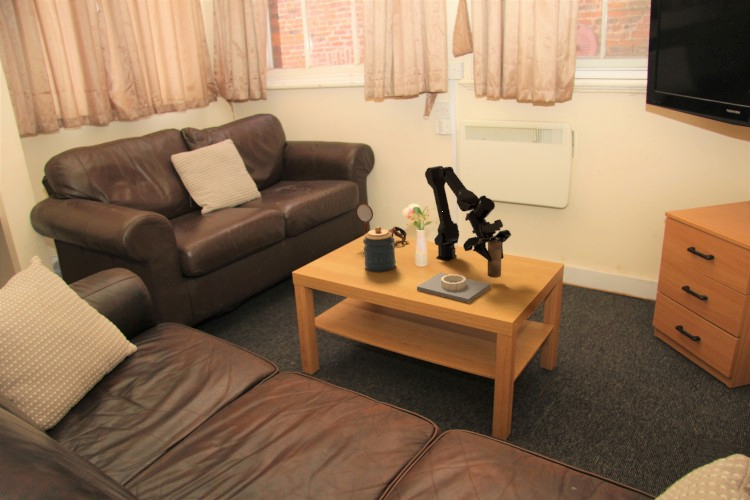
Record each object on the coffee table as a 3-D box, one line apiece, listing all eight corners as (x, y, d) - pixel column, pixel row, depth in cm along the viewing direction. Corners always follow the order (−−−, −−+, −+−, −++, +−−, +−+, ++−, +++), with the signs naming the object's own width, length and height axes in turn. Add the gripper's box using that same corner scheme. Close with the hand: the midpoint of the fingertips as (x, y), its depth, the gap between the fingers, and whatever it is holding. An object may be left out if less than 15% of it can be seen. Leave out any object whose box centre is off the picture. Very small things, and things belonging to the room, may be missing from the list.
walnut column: (485, 275, 223) (485, 243, 218) (491, 271, 226) (491, 239, 222) (497, 278, 220) (497, 245, 215) (503, 274, 223) (504, 241, 219)
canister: (386, 274, 238) (384, 232, 232) (359, 270, 244) (356, 229, 238) (401, 263, 248) (399, 223, 243) (374, 259, 255) (372, 220, 249)
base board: (417, 290, 221) (416, 280, 220) (440, 276, 233) (440, 266, 232) (468, 303, 208) (468, 292, 207) (490, 287, 220) (490, 277, 218)
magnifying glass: (358, 244, 274) (355, 203, 268) (360, 243, 276) (357, 202, 269) (373, 247, 270) (371, 205, 263) (375, 246, 271) (373, 204, 264)
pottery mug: (390, 238, 282) (398, 224, 279) (404, 250, 278) (412, 236, 274) (375, 239, 272) (383, 224, 269) (389, 251, 268) (397, 237, 265)
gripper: (467, 217, 215) (485, 255, 209) (508, 209, 222) (527, 244, 216) (455, 232, 224) (472, 268, 218) (495, 223, 231) (512, 258, 226)
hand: (496, 259), depth 219 cm, fingers closed on walnut column, 5 cm apart
